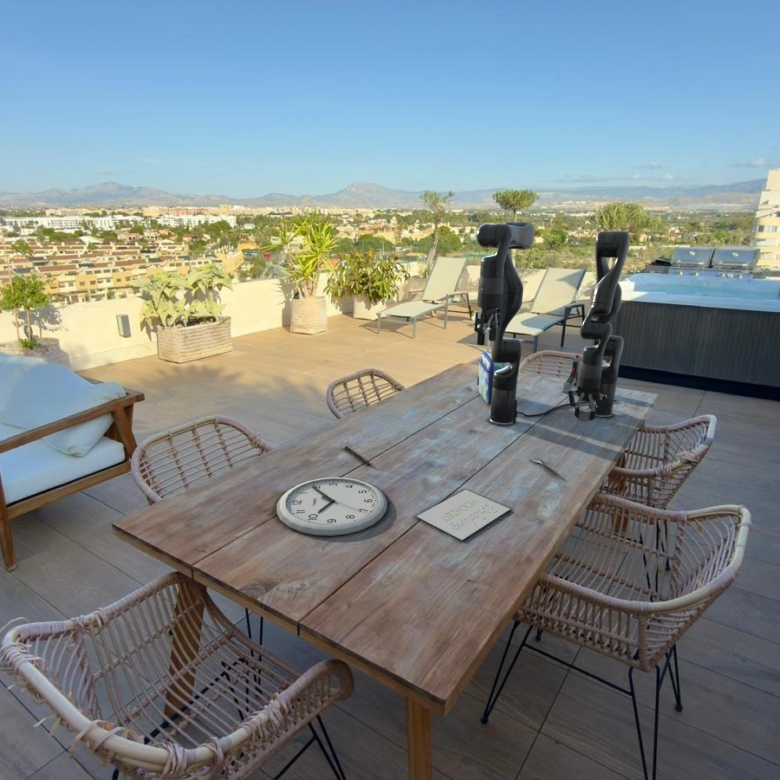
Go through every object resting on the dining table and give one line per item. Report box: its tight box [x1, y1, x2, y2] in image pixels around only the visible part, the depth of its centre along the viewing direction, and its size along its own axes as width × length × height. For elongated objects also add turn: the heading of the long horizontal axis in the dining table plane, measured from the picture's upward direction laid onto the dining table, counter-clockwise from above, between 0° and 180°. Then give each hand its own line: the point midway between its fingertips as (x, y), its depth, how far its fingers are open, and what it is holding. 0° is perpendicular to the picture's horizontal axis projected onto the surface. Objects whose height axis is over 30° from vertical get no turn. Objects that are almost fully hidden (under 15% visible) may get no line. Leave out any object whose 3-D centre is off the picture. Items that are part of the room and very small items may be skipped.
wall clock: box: [276, 476, 388, 537], centre depth 142 cm, size 30×2×30 cm
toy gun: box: [562, 354, 582, 394], centre depth 247 cm, size 2×16×15 cm
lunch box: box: [476, 351, 508, 406], centre depth 230 cm, size 26×11×21 cm, turn 179°
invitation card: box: [416, 489, 511, 541], centre depth 140 cm, size 21×1×15 cm
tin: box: [577, 407, 592, 423], centre depth 196 cm, size 5×5×4 cm
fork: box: [528, 451, 559, 477], centre depth 167 cm, size 3×16×2 cm, turn 15°
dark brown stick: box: [344, 445, 370, 465], centre depth 173 cm, size 15×1×1 cm, turn 34°
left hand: (486, 342), depth 166 cm, fingers open, 8 cm apart
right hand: (584, 418), depth 196 cm, fingers closed on tin, 4 cm apart
